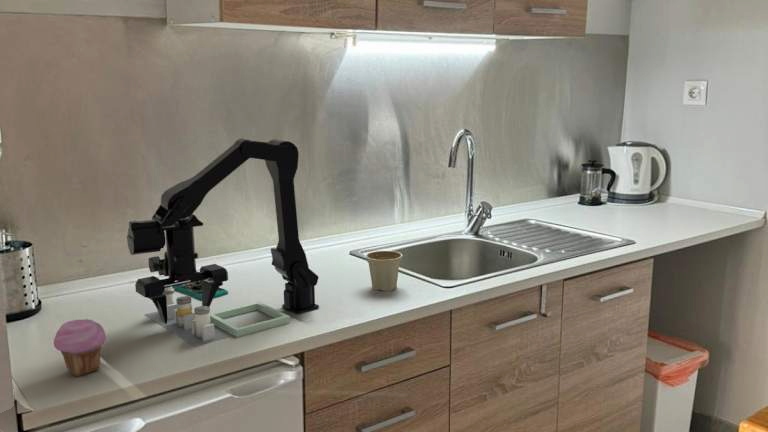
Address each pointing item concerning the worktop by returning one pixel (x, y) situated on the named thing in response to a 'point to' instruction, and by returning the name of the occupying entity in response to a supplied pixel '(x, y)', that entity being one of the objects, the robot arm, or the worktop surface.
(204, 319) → the fuse right
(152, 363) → the worktop surface
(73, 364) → the cupcake
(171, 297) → the fuse left
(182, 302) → the fuse marked
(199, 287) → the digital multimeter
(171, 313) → the fuse panel
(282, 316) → the tray
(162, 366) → the worktop surface
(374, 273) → the flower pot
